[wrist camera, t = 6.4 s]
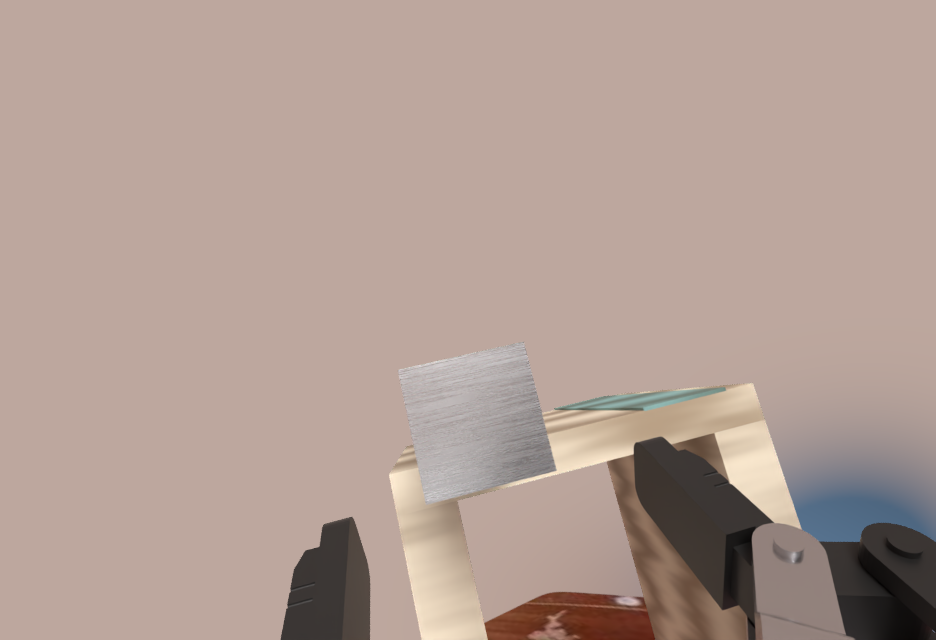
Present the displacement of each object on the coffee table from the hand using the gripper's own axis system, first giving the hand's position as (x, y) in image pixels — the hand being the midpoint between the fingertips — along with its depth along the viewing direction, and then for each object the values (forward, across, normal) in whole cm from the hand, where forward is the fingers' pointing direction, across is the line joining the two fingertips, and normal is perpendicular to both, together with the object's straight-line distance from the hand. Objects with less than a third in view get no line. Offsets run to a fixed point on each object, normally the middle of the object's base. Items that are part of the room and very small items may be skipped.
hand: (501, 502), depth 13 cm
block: (+12, 0, +7) cm, 14 cm away
